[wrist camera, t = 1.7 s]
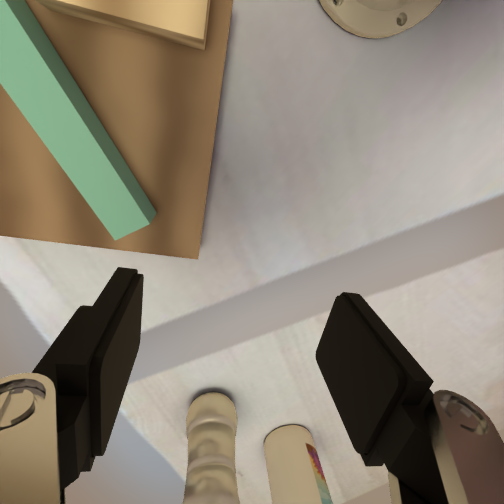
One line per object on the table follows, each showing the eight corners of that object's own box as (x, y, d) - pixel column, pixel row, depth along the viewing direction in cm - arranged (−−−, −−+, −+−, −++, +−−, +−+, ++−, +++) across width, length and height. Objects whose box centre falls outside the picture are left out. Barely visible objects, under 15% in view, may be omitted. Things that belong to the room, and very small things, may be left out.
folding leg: (-72, -58, 16) (-129, -94, 14) (-28, -84, 16) (-77, -125, 13) (125, 227, 24) (115, 240, 22) (156, 212, 24) (149, 224, 22)
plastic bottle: (214, 424, 41) (215, 658, 23) (177, 405, 39) (146, 651, 21) (245, 399, 40) (272, 627, 22) (209, 377, 37) (206, 615, 19)
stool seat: (231, 11, 22) (237, -26, 17) (199, 246, 30) (196, 274, 24) (-65, -76, 18) (-182, -159, 13) (-13, 219, 26) (-72, 245, 21)
